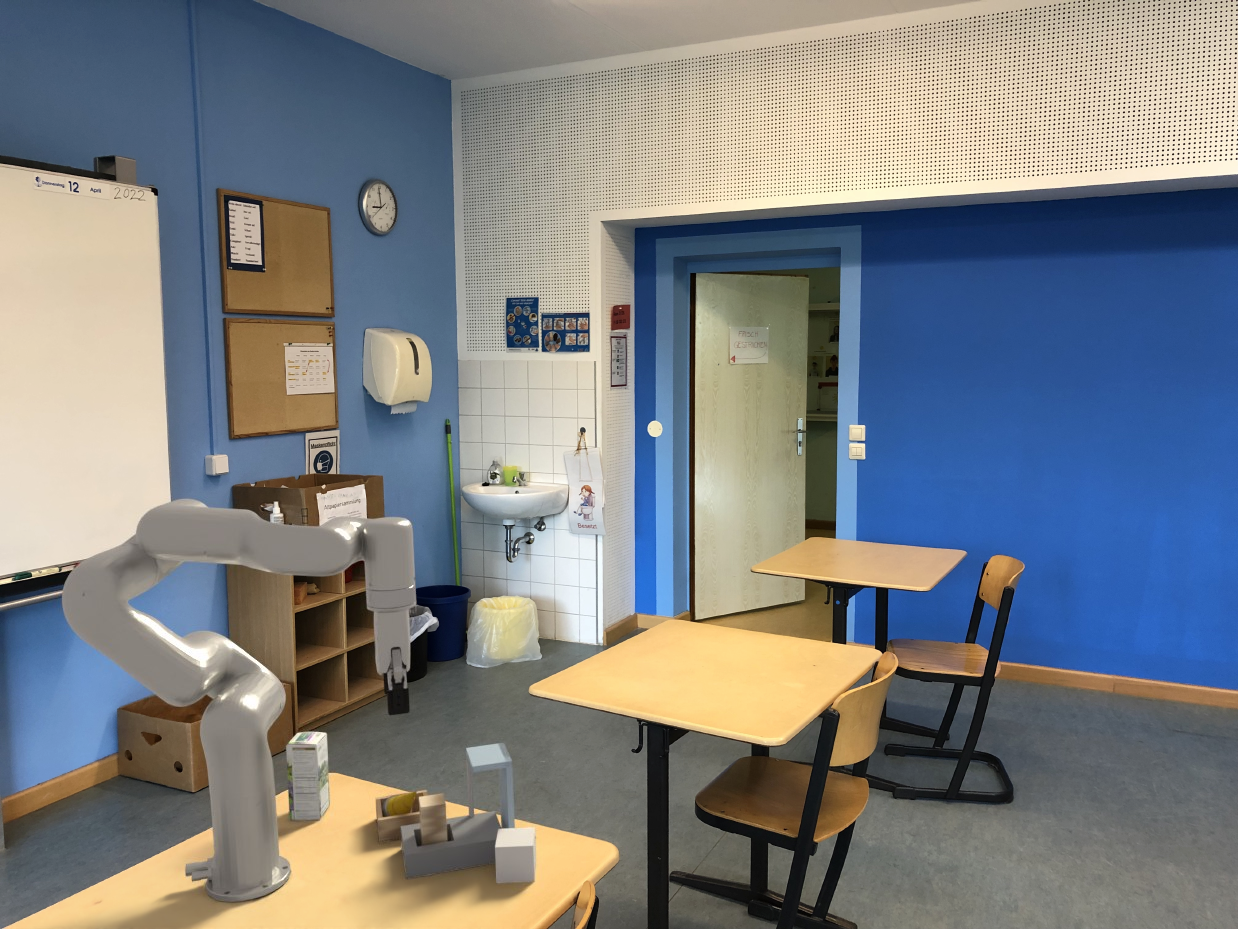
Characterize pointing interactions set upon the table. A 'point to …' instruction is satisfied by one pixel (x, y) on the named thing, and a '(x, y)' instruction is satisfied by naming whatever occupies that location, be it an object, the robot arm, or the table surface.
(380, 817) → the divided wooden box
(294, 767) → the syrup box
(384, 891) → the table surface
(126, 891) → the table surface
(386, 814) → the yellow curved piece
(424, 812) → the peg
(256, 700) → the robot arm
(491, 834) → the socket
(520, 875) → the white block
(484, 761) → the blue-grey arch piece
